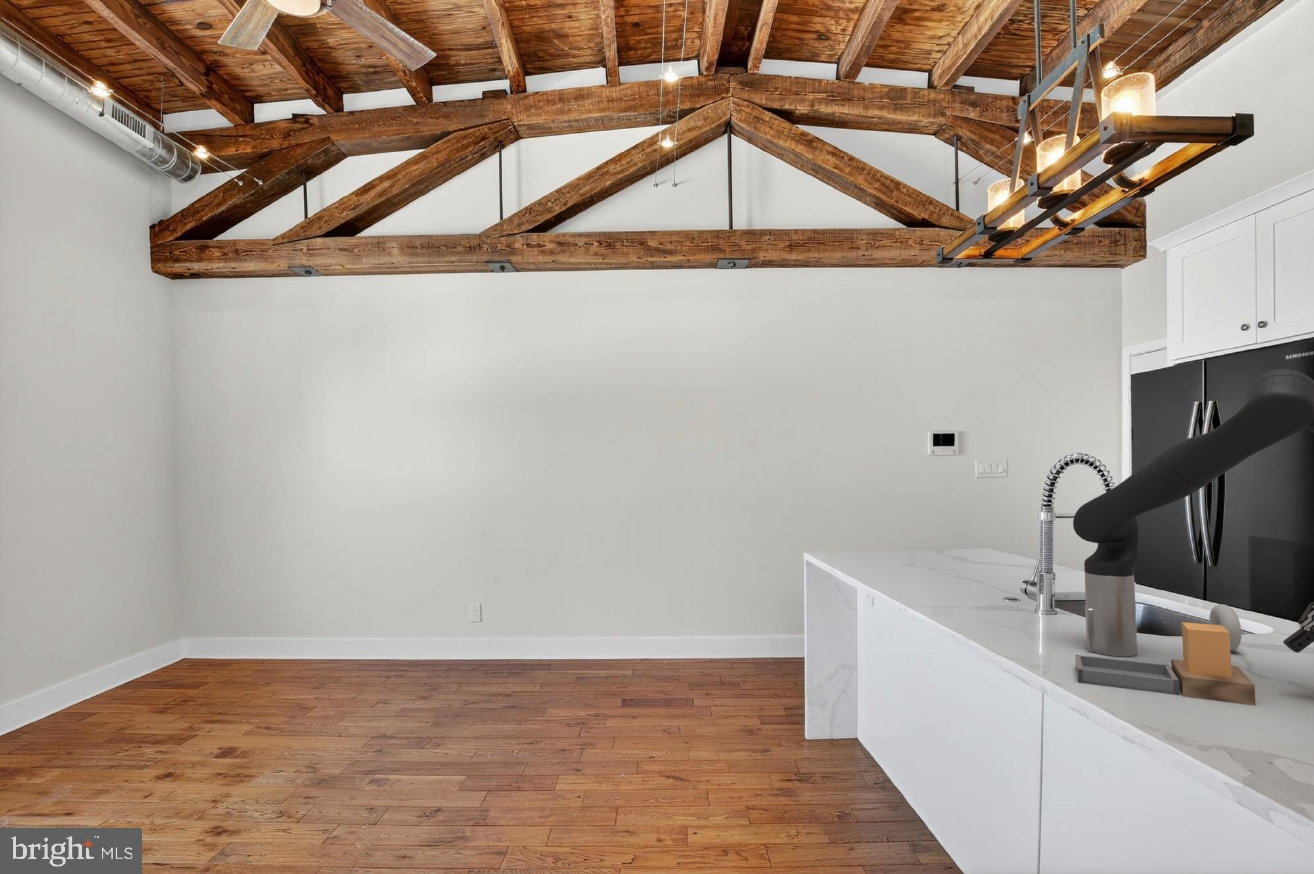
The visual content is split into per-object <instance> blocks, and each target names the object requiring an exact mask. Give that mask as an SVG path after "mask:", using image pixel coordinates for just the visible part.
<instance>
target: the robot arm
mask: <svg viewBox="0 0 1314 874" xmlns="http://www.w3.org/2000/svg"><path fill="white" fill-rule="evenodd" d="M1304 429H1307V430H1309V431H1310V432H1312V433H1314V380H1313V378H1311V377H1310V376H1308V375H1307V374H1305V373H1303V372H1300V371H1298V370H1295V369H1294V370H1293V369H1287V368H1280V369H1278V368H1277V369H1273V370H1269V371H1266V372H1264V373H1263V374H1262V373H1261V375H1259V376H1257V378H1256V379H1255V380H1254V381H1253V382H1252V384H1251V385H1250V389H1249V392H1248V397H1247V400H1246V403H1245V404H1244V405H1243V406H1242V407H1241V408H1240V409H1239V410H1238V411H1237V412H1236V413H1235V414H1234V415H1232V416H1231V417H1229V418H1228V419H1227V420H1226V421H1224V422H1223V423H1222V424H1220V425H1219V426H1217V427H1215V428H1214V429H1212V430H1210V431H1208V432H1205V433H1202V434H1199V435H1196V436H1192V437H1189V438H1186V439H1183V440H1181V441H1179V442H1178V441H1177V443H1174V444H1173V445H1172V446H1170V447H1168V448H1167V449H1165V450H1164V451H1163V452H1161V453H1160V454H1158V455H1157V456H1155V457H1153V459H1152V460H1150V461H1149V462H1147V463H1146V464H1145V465H1143V466H1142V467H1141V468H1139V469H1138V470H1137V471H1135V472H1134V473H1132V474H1131V475H1129V476H1128V477H1127V478H1125V479H1124V480H1123V481H1122V482H1119V484H1117V485H1116V486H1114V487H1113V488H1111V489H1109V490H1108V491H1105V492H1104V493H1102V494H1101V495H1099V496H1096V497H1095V498H1093V499H1091V500H1089V501H1087V502H1086V503H1084V504H1082V505H1081V506H1080V507H1079V508H1078V509H1077V511H1076V512H1075V514H1074V516H1073V520H1072V525H1073V530H1074V532H1075V534H1076V535H1077V536H1078V537H1079V538H1081V540H1083V541H1086V542H1089V543H1094V544H1097V548H1096V550H1095V551H1094V552H1093V553H1092V554H1091V555H1090V556H1088V557H1087V558H1085V559H1084V562H1083V563H1084V567H1083V568H1084V589H1085V590H1084V591H1085V604H1084V606H1085V607H1084V610H1085V612H1084V613H1085V633H1086V634H1085V635H1086V647H1087V652H1091V653H1092V652H1093V653H1098V654H1101V655H1106V656H1113V657H1133V656H1137V655H1138V640H1137V638H1138V637H1137V615H1136V613H1137V612H1136V592H1135V591H1136V589H1135V588H1136V587H1135V585H1136V584H1135V567H1136V564H1137V562H1138V558H1139V557H1138V556H1139V523H1138V522H1139V521H1138V516H1140V515H1142V514H1144V513H1147V512H1150V511H1153V510H1156V509H1158V508H1162V507H1164V506H1168V505H1170V504H1173V503H1175V502H1177V501H1181V500H1182V499H1184V498H1187V497H1189V496H1190V495H1193V494H1194V493H1195V492H1197V491H1199V490H1200V489H1202V488H1203V487H1205V486H1207V485H1209V484H1210V483H1211V482H1214V480H1215V479H1216V480H1217V478H1219V477H1220V476H1223V474H1225V473H1227V472H1228V471H1230V470H1231V469H1233V468H1234V467H1236V466H1238V465H1239V464H1240V463H1242V462H1243V461H1245V460H1247V459H1248V458H1249V457H1251V456H1253V455H1254V454H1257V453H1259V452H1260V451H1263V450H1264V449H1266V448H1269V447H1270V446H1273V445H1274V444H1277V443H1278V442H1281V441H1283V440H1285V439H1287V438H1289V437H1292V436H1293V435H1295V434H1297V433H1299V432H1301V431H1303V430H1304ZM1297 624H1299V626H1298V627H1299V629H1297V630H1295V632H1293V633H1292V634H1290V636H1288V637H1286V638H1285V639H1284V640H1283V641H1282V643H1283V645H1285V646H1286V647H1287V648H1288V649H1290V651H1292V652H1294V653H1300V652H1302V651H1303V650H1304V649H1306V648H1307V647H1308V646H1310V645H1311V644H1313V643H1314V601H1312V602H1310V603H1309V604H1308V606H1307V607H1306V609H1305V610H1304V612H1303V614H1302V615H1301V617H1300V618H1299V620H1298V621H1297Z"/></svg>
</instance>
